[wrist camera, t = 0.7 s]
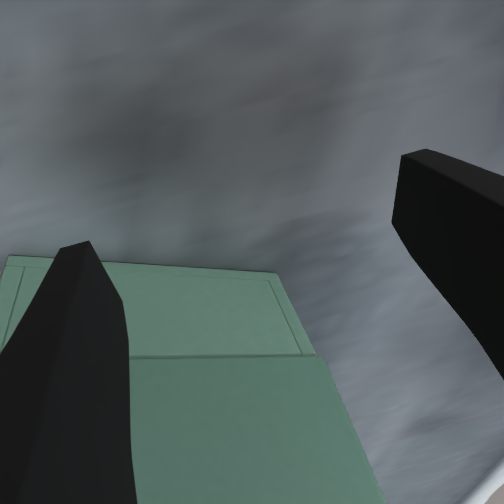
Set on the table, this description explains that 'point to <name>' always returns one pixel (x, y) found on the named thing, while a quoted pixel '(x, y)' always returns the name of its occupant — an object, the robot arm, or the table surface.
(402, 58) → the table surface
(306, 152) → the table surface
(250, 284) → the green storage bin
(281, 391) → the maker lid
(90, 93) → the table surface
